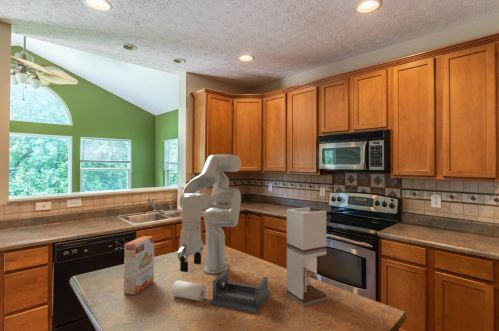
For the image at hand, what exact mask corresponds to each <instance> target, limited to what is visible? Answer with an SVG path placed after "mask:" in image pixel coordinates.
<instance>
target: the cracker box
mask: <svg viewBox="0 0 499 331" xmlns="http://www.w3.org/2000/svg"><path fill="white" fill-rule="evenodd" d="M123 247H124V251H123V252H124V253H123V254H124V255H123V256H124V259H123V294H124V295H130V296H136V295H138V294H139V293H141V292H142V291H143V290H145V288H147V287H149V285H151V284H152V283H153V282H154V278H155V276H154V270H155V266H154V265H155V236H151V235H149V236H147V235H143V236H140V237H139V238H135V239H133V240H131V241H128V242H126V243H124V246H123Z"/></svg>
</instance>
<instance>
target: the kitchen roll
mask: <svg viewBox="0 0 499 331" xmlns="http://www.w3.org/2000/svg"><path fill="white" fill-rule="evenodd" d="M206 292H207V288H206V284H202V283H195V282H190V281H185V280H179V279H178V280H176V281H174V283H173V285H172V288H171V294H172V296H173V297H176V298H177V297H178V298H183V299H187V300H192V301H196V302H197V301H198V302H202V301H203V300H204V299H205V297H206Z"/></svg>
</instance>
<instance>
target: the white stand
mask: <svg viewBox="0 0 499 331" xmlns="http://www.w3.org/2000/svg"><path fill="white" fill-rule="evenodd" d="M326 255H327V210H318V211H311V207H309V206H308V207H298V208H297V207H296V208H288V209H286V295H287V296H289V297H290V298H292V299H293V301H295V302H297V303H298V304H300V305H301V306H302V307H307V306H310V305H312V304H315V303H319V302H323V301H325V300H327V294H326V293H325V292H324V291H321V290H320V289H318V288H317V287H315V286H313V285H311V276H314V275H317V274H318V259H317V258H318V257H321V256H326Z"/></svg>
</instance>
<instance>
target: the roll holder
mask: <svg viewBox="0 0 499 331" xmlns="http://www.w3.org/2000/svg"><path fill="white" fill-rule="evenodd" d="M268 283H269V278H268V276H263V277H262V279H261V280H260V281H259V283H258V284H257V285H256V286H255V285H250V284H243V283H238V282H232V281H229V270H227V271H224V272H223V273H220V274H219V275H218V276H217V277H216V278H215V279H213V280H212V298H211V299H210V300H209V305H210V306H214V307H215V306H216V307H222V308H225V309H229V310H236V311H240V312H245V313H250V314H254V315H257V314H258V313H259V312H260V310H261V309H262V307H263V305H264V303H265V302H266V301H267V300H268V298H269V297H270V294H271V293H270V292H271V291H270V290H269V286H268V285H269V284H268Z"/></svg>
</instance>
